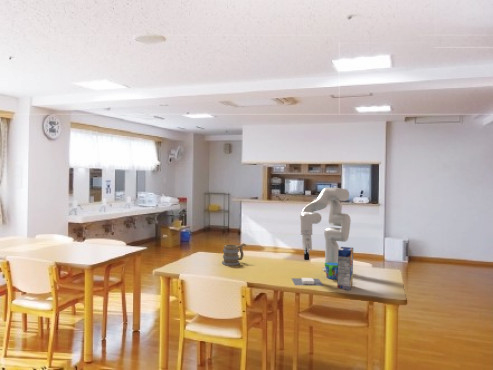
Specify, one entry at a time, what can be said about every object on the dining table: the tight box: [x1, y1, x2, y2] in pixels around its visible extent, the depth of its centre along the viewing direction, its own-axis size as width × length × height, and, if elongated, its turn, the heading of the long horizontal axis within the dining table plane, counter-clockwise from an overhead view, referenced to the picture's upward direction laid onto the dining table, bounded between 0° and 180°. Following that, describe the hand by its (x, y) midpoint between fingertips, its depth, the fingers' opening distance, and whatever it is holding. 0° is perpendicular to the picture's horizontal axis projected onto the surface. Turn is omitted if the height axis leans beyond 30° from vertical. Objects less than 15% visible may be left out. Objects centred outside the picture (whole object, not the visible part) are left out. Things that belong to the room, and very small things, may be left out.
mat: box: [291, 277, 325, 287], centre depth 256 cm, size 18×17×1 cm
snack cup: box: [324, 262, 338, 280], centre depth 268 cm, size 16×10×10 cm
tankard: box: [221, 243, 247, 266], centre depth 310 cm, size 20×13×15 cm, turn 120°
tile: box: [300, 277, 314, 284], centre depth 254 cm, size 7×2×8 cm
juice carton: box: [336, 246, 354, 291], centre depth 247 cm, size 12×8×24 cm, turn 158°
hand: (306, 259), depth 264 cm, fingers closed
